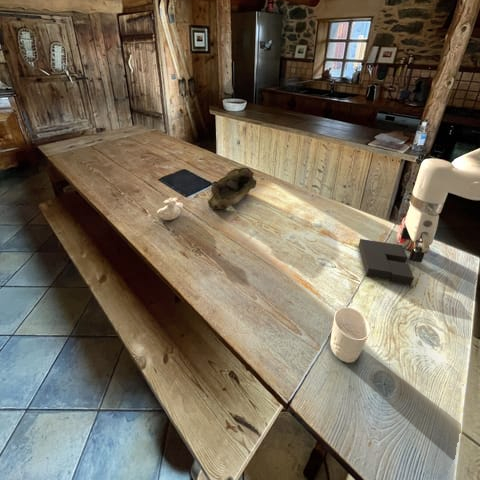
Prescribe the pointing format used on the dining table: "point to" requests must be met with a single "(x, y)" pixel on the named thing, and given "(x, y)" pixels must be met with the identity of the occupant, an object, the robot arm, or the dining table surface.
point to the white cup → (349, 334)
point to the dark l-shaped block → (380, 257)
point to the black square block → (400, 273)
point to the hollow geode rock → (231, 188)
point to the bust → (170, 209)
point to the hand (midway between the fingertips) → (410, 249)
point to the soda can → (404, 242)
